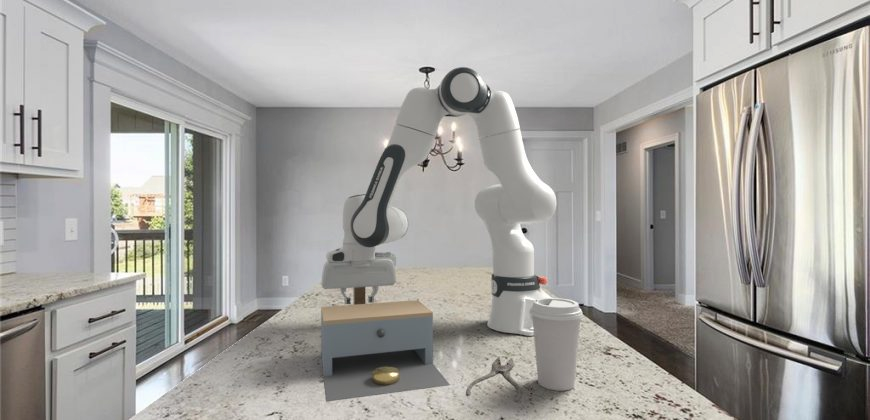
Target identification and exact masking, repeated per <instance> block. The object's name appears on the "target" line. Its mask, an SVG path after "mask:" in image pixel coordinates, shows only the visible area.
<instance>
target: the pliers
mask: <svg viewBox="0 0 870 420" xmlns="http://www.w3.org/2000/svg"><path fill="white" fill-rule="evenodd" d="M514 368H515V362H514V358H513V357H511V358H510V359H508V361H507V362H506V364H504V365H502V363H501V357H500V356H498V357H497V358H496V359H495V360H494V361H493V362H492V369H491V371H490V372H489V373H487V374H485V375H482V376H481V377H478V378H476V379H474V380H473V381H472V382H471V383H470V384H469V385H468V386H467V389H466V396H467V397H470V395H471V390H472V389H473V387H474V386H475V385H477V384H478V383H480V382H481V383H482V381H485V380H488V379H490V378H493V377H495V376H497V375H498V374H502V376H503V377H504V378H505V379H506V380H507V381H508V382H509V383H510V384H511V385H512V386H514V388H515V389H516V391H517V395H516V396H515V399H514V402H515V403H517V402H519V401H520V399H521V398H522V388H521V386H520V385H519V384H518V382H517V381H515V380H514V378H512V376H511V373H510V372H511V371H512V369H514Z"/></svg>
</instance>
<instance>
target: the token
mask: <svg viewBox="0 0 870 420" xmlns="http://www.w3.org/2000/svg"><path fill="white" fill-rule="evenodd" d="M398 381H399V370H398V369H397V368H394V367H380V368H376V369H374V370H373V372H372V382H373V383H374V384H376V385H381V386H387V385H393V384H395V383H397V382H398Z"/></svg>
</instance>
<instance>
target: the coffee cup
mask: <svg viewBox="0 0 870 420" xmlns="http://www.w3.org/2000/svg"><path fill="white" fill-rule="evenodd" d="M529 313H530V314H531V315H532V319H533V329H534V335H533V339H534V350H535V362H536V372H537V373H536V374H537V375H536V376H537V383H538V385H540V386H541V387H543V388H545V389H548V390H550V391H551V390H552V391H556V392H557V391H560V392H561V391H564V392H565V391H569V390H572V389H574V387H575V382H576V371H577V363H578V362H577V361H578V360H577V359H578V347H579V337H580V328H581V327H580V325H581V319H582V318H584V314H583V313H584V312H583V311H582V309H581V308H580V304H579V302H577V301H574V300H572V299H569V298H568V299H567V298H559V297H552V298H541V299H537V300H535V301H534V303H533V306H531V309H530V312H529Z"/></svg>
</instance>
